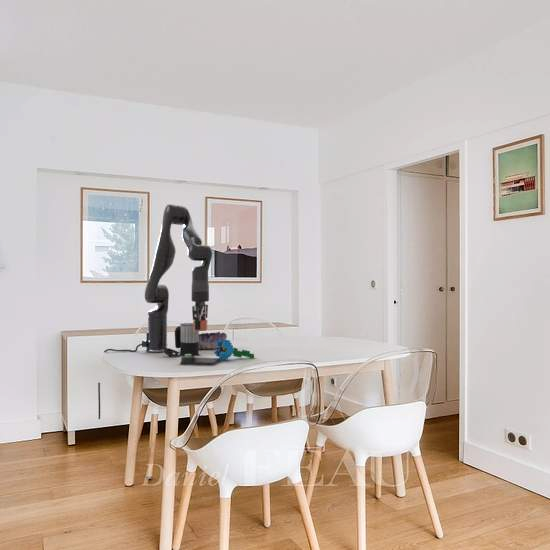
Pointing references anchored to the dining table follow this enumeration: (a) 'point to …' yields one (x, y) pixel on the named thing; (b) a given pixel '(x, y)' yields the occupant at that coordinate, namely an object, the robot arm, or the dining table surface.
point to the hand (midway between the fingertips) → (200, 328)
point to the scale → (199, 361)
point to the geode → (210, 340)
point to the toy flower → (230, 350)
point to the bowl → (201, 325)
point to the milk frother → (185, 341)
